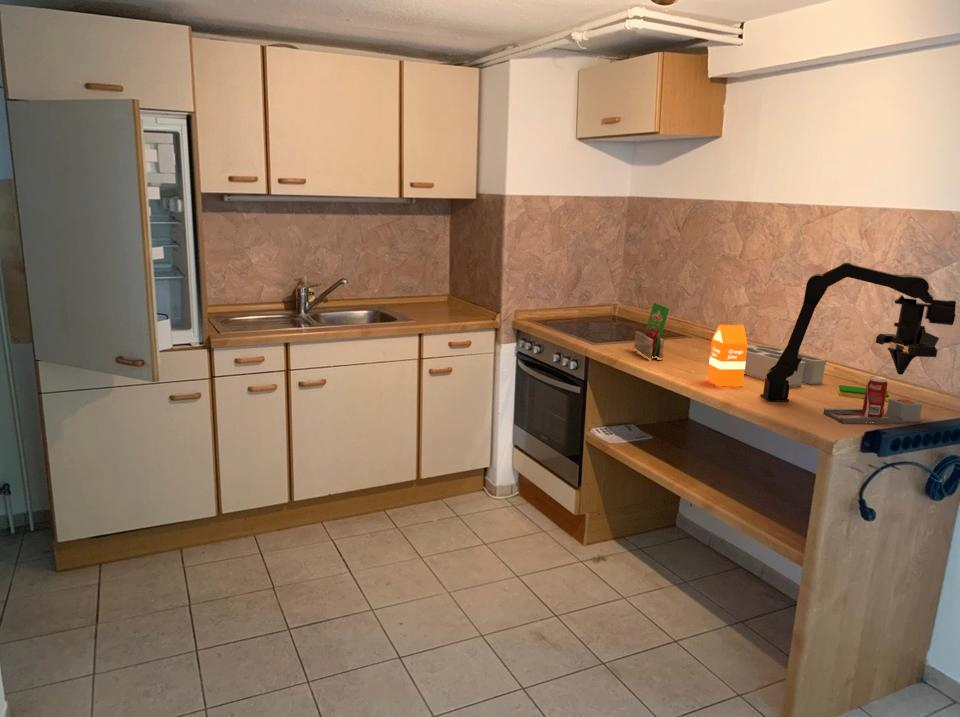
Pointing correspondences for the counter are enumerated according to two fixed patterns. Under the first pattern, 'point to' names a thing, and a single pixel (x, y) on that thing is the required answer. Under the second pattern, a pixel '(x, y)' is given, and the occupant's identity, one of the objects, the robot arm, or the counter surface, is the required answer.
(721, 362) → the orange juice
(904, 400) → the plunger
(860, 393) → the dish sponge
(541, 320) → the counter surface
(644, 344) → the packet holder
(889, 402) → the grey push button box
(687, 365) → the counter surface
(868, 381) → the soda can
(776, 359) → the grey compartment organizer
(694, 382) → the counter surface
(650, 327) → the tomato puree packet
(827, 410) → the grey shallow tray
